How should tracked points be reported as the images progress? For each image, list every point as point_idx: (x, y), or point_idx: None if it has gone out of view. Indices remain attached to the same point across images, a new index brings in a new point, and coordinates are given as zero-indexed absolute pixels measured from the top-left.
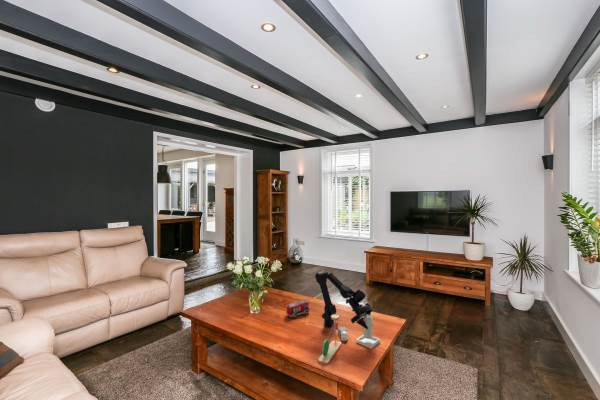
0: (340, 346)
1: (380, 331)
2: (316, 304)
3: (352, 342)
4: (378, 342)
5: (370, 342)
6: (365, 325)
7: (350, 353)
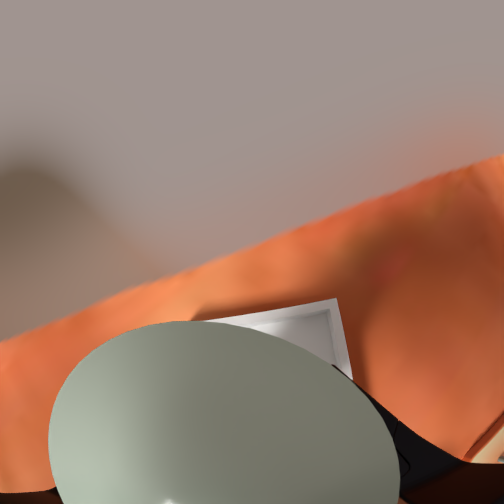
0: (485, 436)
1: None
2: None
3: None
4: None
5: None
6: (376, 401)
7: (487, 336)
